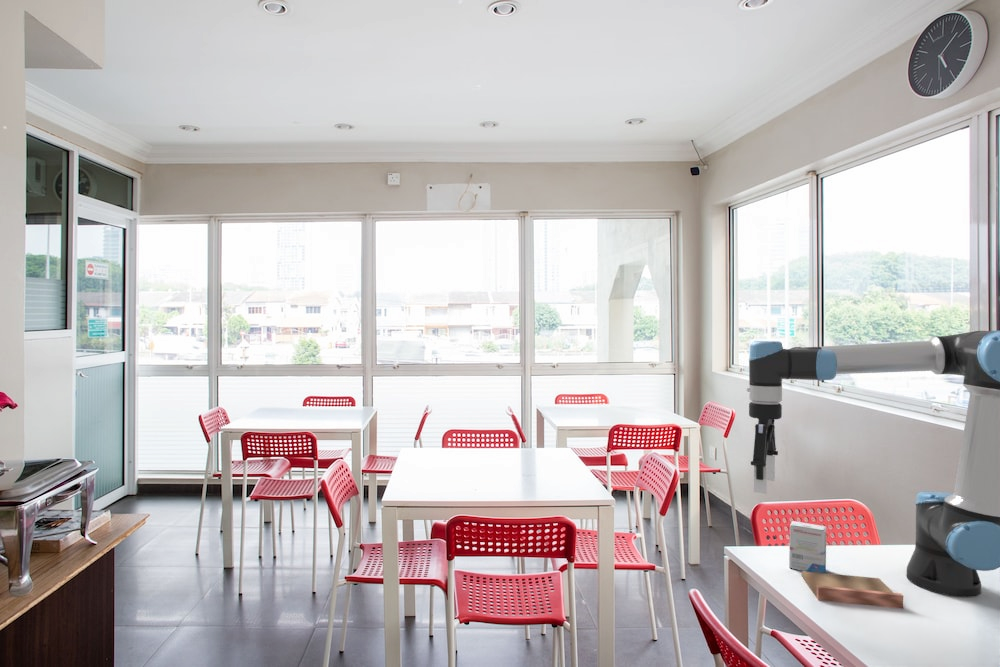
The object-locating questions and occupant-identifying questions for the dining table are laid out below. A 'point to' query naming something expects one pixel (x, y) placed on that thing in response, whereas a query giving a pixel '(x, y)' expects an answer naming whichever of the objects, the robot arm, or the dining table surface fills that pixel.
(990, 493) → the robot arm
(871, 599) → the shelf board
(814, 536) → the ink box
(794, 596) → the dining table surface
